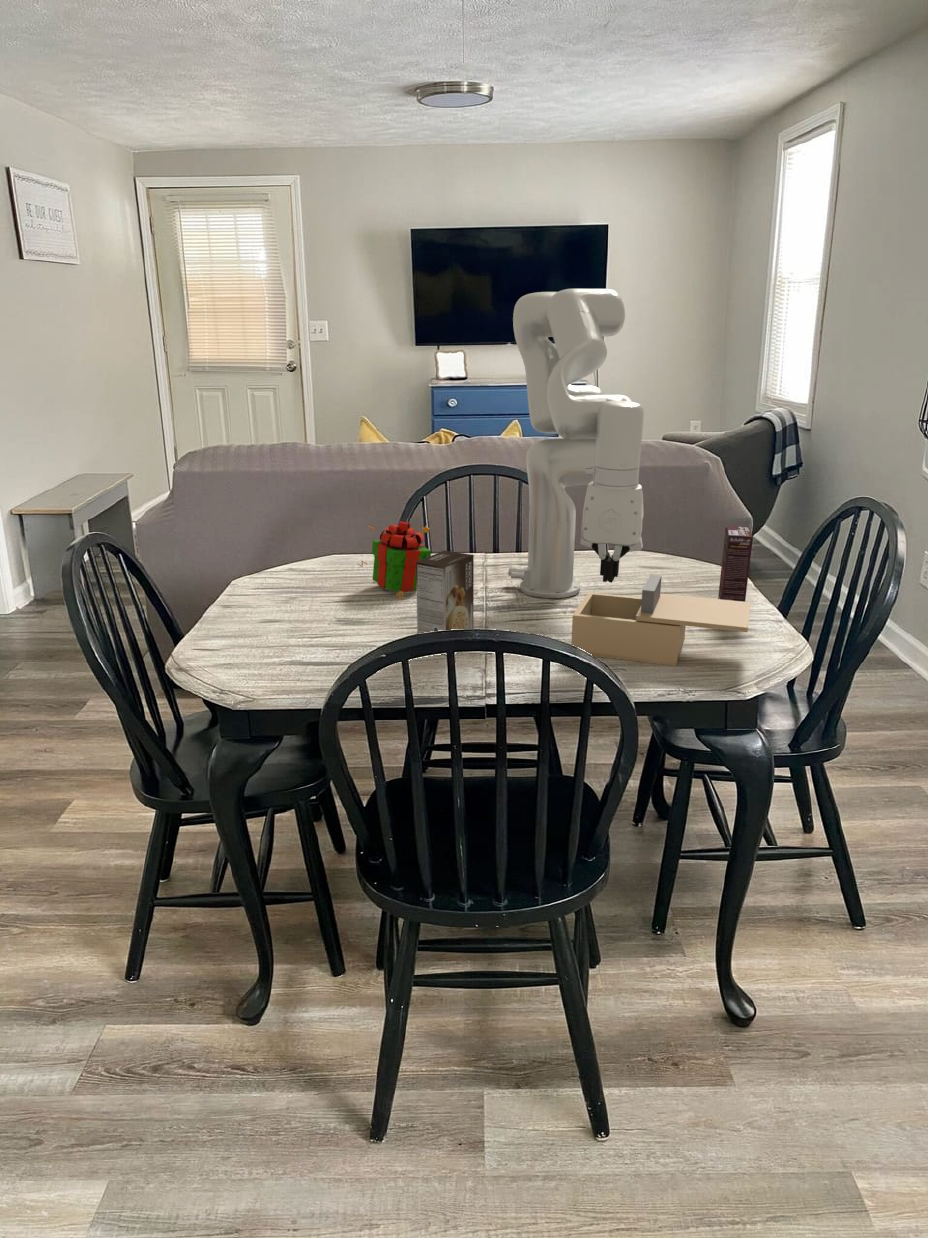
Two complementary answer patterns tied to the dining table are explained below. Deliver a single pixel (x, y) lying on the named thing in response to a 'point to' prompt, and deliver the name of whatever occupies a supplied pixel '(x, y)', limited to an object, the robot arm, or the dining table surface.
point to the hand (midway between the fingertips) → (608, 579)
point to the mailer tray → (624, 631)
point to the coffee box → (445, 592)
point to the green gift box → (398, 557)
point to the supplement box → (735, 563)
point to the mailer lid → (691, 609)
